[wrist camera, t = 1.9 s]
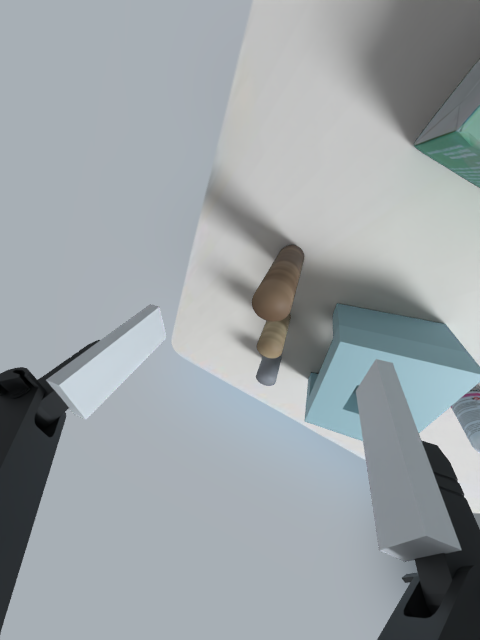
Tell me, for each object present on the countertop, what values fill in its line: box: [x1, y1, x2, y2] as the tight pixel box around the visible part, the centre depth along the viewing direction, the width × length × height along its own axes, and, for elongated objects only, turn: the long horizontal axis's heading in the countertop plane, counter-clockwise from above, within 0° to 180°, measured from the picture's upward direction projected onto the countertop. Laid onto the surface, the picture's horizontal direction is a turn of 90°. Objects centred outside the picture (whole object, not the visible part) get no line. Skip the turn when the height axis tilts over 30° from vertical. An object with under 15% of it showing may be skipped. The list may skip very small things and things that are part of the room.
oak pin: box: [257, 313, 291, 358], centre depth 28 cm, size 3×3×8 cm
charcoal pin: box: [256, 356, 281, 386], centre depth 34 cm, size 3×3×5 cm
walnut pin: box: [252, 245, 304, 322], centre depth 21 cm, size 3×3×12 cm
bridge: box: [305, 303, 480, 441], centre depth 27 cm, size 16×12×8 cm
